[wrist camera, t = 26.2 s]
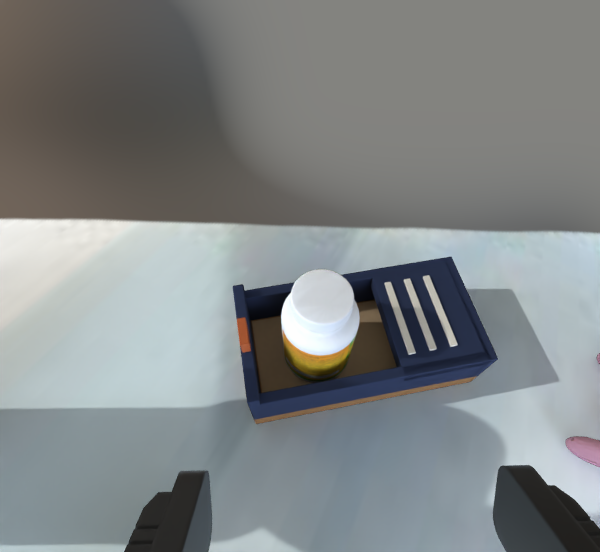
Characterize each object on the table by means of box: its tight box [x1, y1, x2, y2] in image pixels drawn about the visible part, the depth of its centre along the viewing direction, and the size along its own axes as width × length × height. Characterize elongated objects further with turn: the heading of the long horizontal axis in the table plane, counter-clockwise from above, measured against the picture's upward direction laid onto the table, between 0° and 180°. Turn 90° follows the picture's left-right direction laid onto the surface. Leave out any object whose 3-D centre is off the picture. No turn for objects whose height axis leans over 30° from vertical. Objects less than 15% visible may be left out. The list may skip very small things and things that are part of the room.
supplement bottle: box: [281, 269, 360, 383], centre depth 30 cm, size 5×5×10 cm
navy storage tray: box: [233, 257, 498, 424], centre depth 32 cm, size 18×9×8 cm, turn 101°
